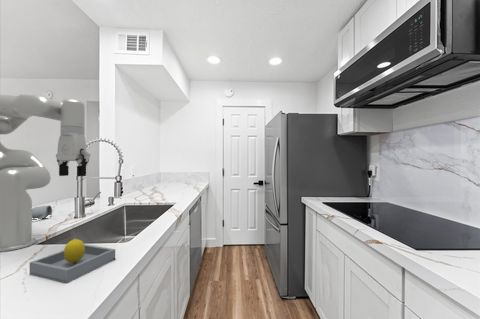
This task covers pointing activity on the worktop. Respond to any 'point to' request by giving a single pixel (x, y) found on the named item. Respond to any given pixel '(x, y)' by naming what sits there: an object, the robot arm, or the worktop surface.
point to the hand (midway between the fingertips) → (72, 175)
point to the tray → (71, 264)
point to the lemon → (74, 251)
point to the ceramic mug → (41, 212)
